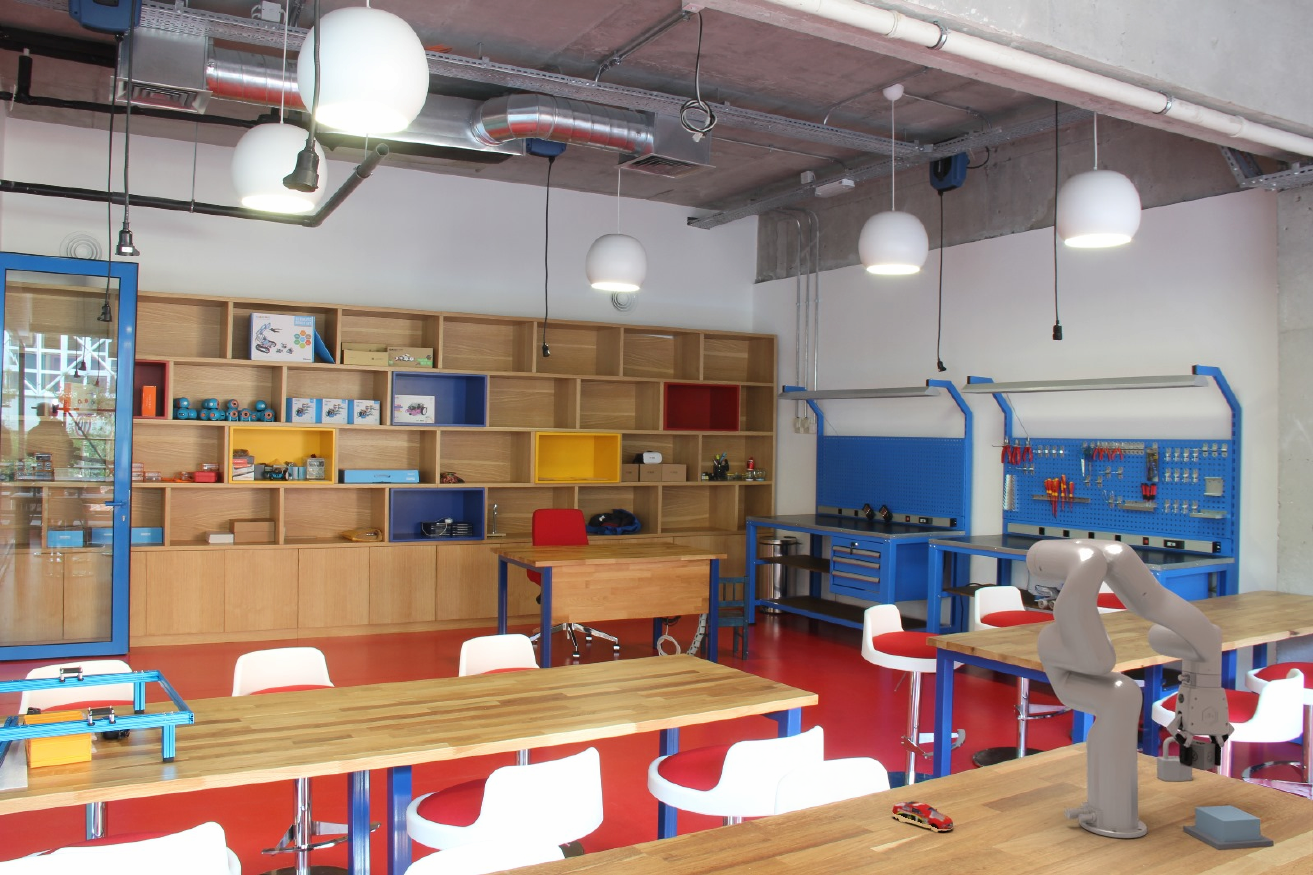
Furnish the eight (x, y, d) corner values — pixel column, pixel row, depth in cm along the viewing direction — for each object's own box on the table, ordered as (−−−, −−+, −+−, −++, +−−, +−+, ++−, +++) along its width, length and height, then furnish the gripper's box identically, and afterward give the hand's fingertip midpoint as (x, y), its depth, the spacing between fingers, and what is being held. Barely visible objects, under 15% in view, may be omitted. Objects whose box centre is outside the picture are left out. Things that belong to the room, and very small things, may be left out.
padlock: (1165, 782, 236) (1164, 739, 236) (1155, 777, 240) (1154, 734, 240) (1194, 781, 237) (1193, 738, 237) (1183, 776, 241) (1183, 734, 241)
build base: (1218, 849, 195) (1218, 823, 195) (1183, 831, 204) (1182, 806, 205) (1273, 846, 197) (1273, 820, 197) (1236, 827, 206) (1235, 803, 207)
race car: (958, 830, 206) (958, 811, 206) (943, 837, 202) (943, 817, 202) (903, 813, 216) (903, 794, 216) (888, 819, 212) (888, 800, 212)
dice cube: (1204, 770, 215) (1204, 746, 215) (1180, 764, 219) (1180, 741, 219) (1215, 767, 218) (1215, 744, 218) (1191, 761, 222) (1191, 738, 222)
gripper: (1177, 683, 214) (1175, 769, 213) (1249, 684, 217) (1248, 769, 216) (1154, 676, 221) (1152, 759, 221) (1224, 677, 224) (1223, 759, 223)
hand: (1200, 763), depth 218 cm, fingers closed on dice cube, 6 cm apart
